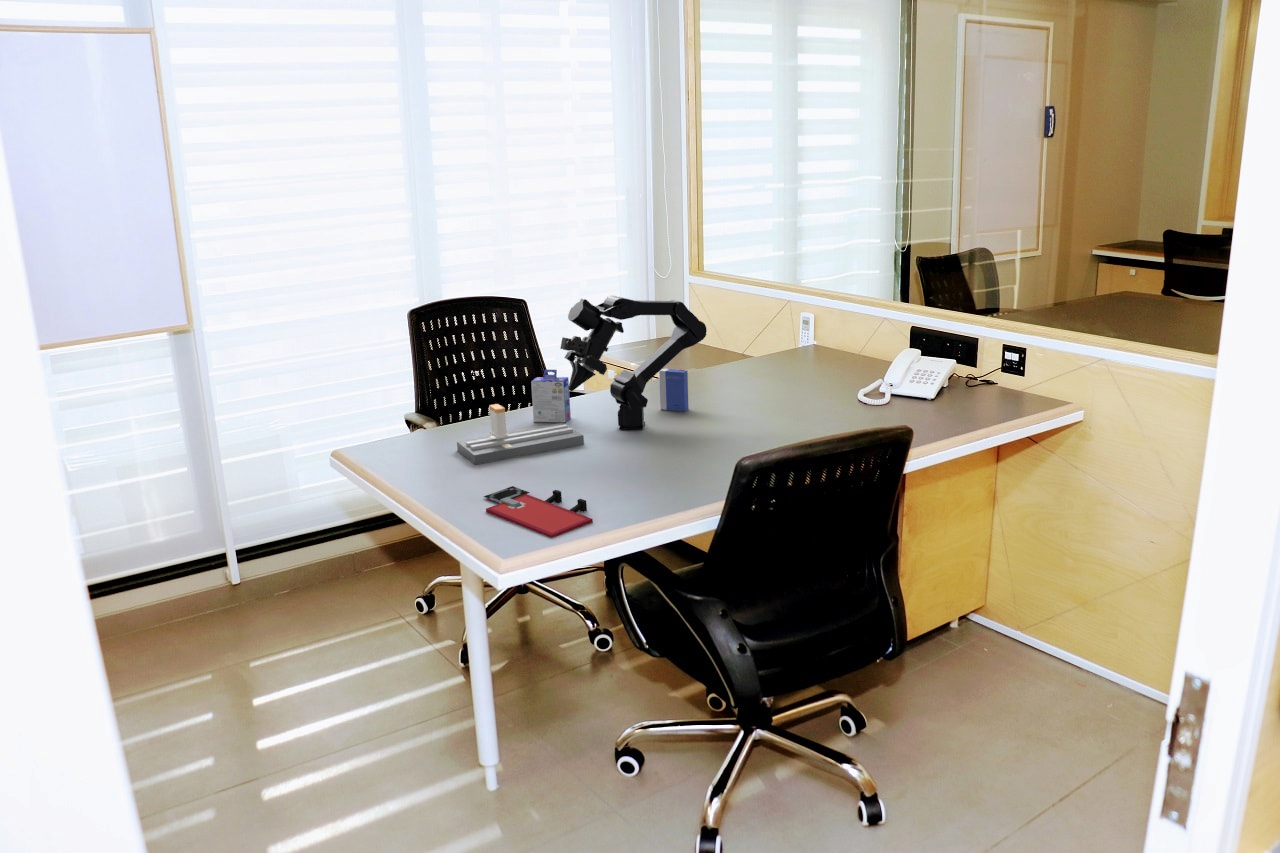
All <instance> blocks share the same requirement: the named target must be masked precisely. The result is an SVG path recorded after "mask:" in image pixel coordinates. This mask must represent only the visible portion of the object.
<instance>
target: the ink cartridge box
mask: <svg viewBox="0 0 1280 853" xmlns="http://www.w3.org/2000/svg"><path fill="white" fill-rule="evenodd" d="M549 373H554V374H549ZM569 383H570V381H569V377H568V376H562V377H561V376H557V369H547V368H546V369H544V372H543V376H542V377H540V376H539V377H538V376H537V377H535V378H534V379H533V380H531V382H530V384H531V399H532V400H531V402H532V414H533V415H532V416H533V418H532V420H533V422H534V423H566V422H569V420H570V419H572V418H571V401H570V400H571V399H570V390H568V387H569Z"/></svg>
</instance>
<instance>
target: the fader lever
mask: <svg viewBox="0 0 1280 853" xmlns="http://www.w3.org/2000/svg"><path fill="white" fill-rule="evenodd" d="M488 407H489V408H488V409H489V416H490V417H489V418H490V428H491V429H490V431H489V434H491V435H493V436H494V437H496V438H497V441H498V440H502V438H504V437H508V434H507V433H508V432H507V423H506V422H507V420H506V408H505V407H504V406H503V405H500V404H499V403H494V404H489V406H488Z"/></svg>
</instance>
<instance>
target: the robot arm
mask: <svg viewBox="0 0 1280 853" xmlns="http://www.w3.org/2000/svg"><path fill="white" fill-rule="evenodd" d="M567 314H568V315H567V319H568V321H570V322H571V323H573V324H574V325H576V326H578V328H579V327H580V328H581V329H583V330H584V331H585V332H588V331H590V330H591V331H590V332H589V333H588V336H584V337H580V336H576V335H573V336H572V337H571V338H570V337H563V336H562V339H561V344H560V350H564V351H567V352H566V354H565V356H564V359H565V360H567V361H568V362H569V364H570V365H571V369H572V371H571V375H570V381H569V387H568V390H569V392H573V391H575V390H576V389H578V387H579V386H581V385H583V384H584V383H585V382H587V381H588V380H589V379H591V378H592V377H594V376H596V374H597V373H595V372H598V374H600V375H601V376H605V374H606V372H607V370H608V366H607V364H606V363H604V362H603V361H601V358H602V356H603V354H604V353H605V352H606V353H607V352H608V351H609V347H608V345H609V344H610V342H611V340H612V338H613V337H614V336H615V335H614V334H616V332H618V333H621V334H624V332H625V329H624V327H623V323H622V322H621V321H623V320H628V319H633V318H635V317H638V316H670V318H671V321H672V323H673V324H674V326H675V327H674V328H673V331H672V334H671V335H670V337H669V339H667V340H666V341H665V342H664V343H663V344H662V345H661V346H660V347H658V349H657V350H655V351H654V352H653V353H652V354H651V355H650V356H649V357H647V358H646V359H645V360H644V361H643V362H642V363H641V364H639V365H638V367H636V368H635V369H634V370H632V371H629V370H626V369H623V370H622V371H621V372H620V373H619V374H618V375H617V376H615V377H614V378H612V380H613V381H612V382H611V383H610V387H609V388H610V390H609V391H610V395H611V397H613V398H614V399H615V402H616V404H617V405H619V409H618V411H617V424H618V426H619V427H618V429H619V430H621V431H622V430H623V431H624V430H625V431H626V430H627V431H629V430H630V431H631V430H633V431H634V430H635V431H637V430H638V431H640V430H641V431H642V430H644V427H645V424H646V421H645V414H644V413H645V412H644V411H645V410H644V408H646V407H647V404H648V401H649V400H648V398H647V397H646V396H644V395H643V393H644V391H645V387H646V385H647V383H648V382H649V381H650V380H652V378H654V376H656V375H657V374H658V373H659V371H660V370H662V369H664V367H666V366H667V365H668V364H669V363H670V362H671V361H672V360H674V358H676V357H677V355H679V354H680V353H681V352H682V351H684V350H686V349H688V348H691V347H693V346H696V345H697V344H699V343H700V342H702V341H703V340H704V339H705V338H706V337H707V332H708V330H707V326H706V324H705V323H704V322H703V321H702V320H699V318H698V317H697V316H696V315H695V314H694V313H693V312H692V311H690V309H689V308H688V307H687V306H686V305H685V303H684V302H682V301H679V300H675V299H671V300H637V299H636V300H634V299H630V298H625V297H621V296H617V295H608V296H607V297H606V298H605V299H604V301H603V302H600V303H598V304H596V305H593V303H591V302H589V300H587V299H585V298H582V297H581V298H580V299H579V301H578V302H577V303H575V304H574V305H573V306H572V307H571V308H570V310H569V311H568V313H567ZM602 316H604V317H606V318H603V317H602ZM613 319H616V320H619V321H614V320H613Z"/></svg>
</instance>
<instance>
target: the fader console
mask: <svg viewBox="0 0 1280 853" xmlns="http://www.w3.org/2000/svg"><path fill="white" fill-rule="evenodd" d="M507 434H508V437H504V438H502V440H498V441H497V438H496V437H494V436H493V435H492V434H491V435H487V436H479V437H476V438H469V439H463V440H457V441H456V448H457V452H459V454H462V455H463V456H464V457H465V458H466V459H467V460H469V461H470V462H471V463H472V464H474V465H481V464H482V465H483V464H487V463H491V462H496V461H503V460H508V459H513V457H514V458H517V457H524V456H529V454H530V455H534V453H535V454H538V453H539V452H540V453H545V452H550V450H551V451H555V450H561V449H565V448H572V447H576V446H582V445H584V444H585V440H584V439H585V438H584V435H583V434H582V433H580V432H579V431H577V430H575V429H573V428H572V427H571V426H570V427H569V426H568V425H567V424H565V423H564V422H558V423H555V424H554V423H553V424H549V425H544V426H538V427H532V428H525V429H520V430H514V431H508V432H507Z"/></svg>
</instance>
